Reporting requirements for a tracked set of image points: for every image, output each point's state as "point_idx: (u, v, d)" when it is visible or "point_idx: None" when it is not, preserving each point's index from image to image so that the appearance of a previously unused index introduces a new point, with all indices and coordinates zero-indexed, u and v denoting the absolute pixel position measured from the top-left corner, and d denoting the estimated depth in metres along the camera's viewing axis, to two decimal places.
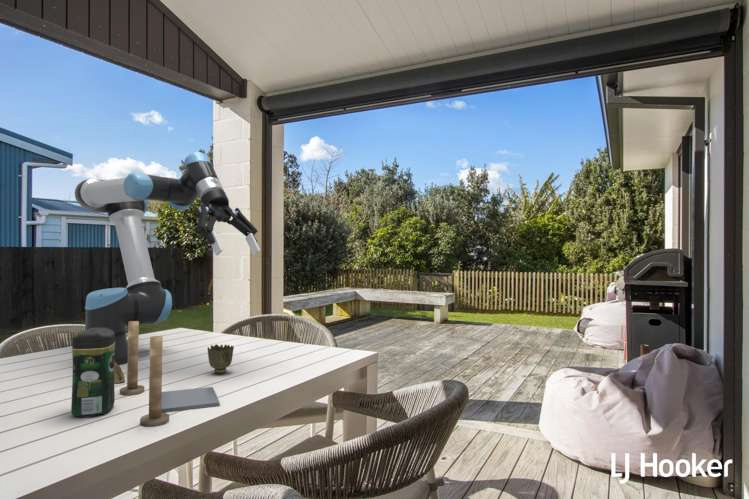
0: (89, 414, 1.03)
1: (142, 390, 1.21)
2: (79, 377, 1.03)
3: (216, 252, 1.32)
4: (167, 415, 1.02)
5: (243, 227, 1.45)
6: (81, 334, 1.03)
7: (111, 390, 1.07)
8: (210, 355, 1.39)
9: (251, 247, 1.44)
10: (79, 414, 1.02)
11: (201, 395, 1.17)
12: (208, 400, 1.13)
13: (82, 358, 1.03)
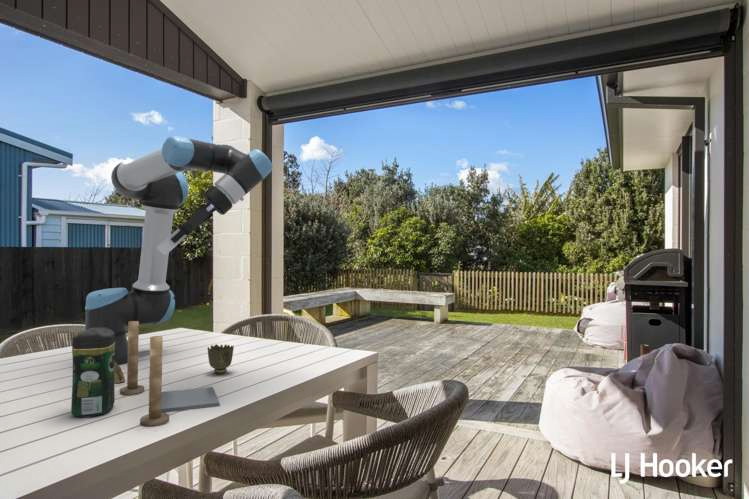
0: (89, 414, 1.03)
1: (142, 390, 1.21)
2: (79, 377, 1.03)
3: (160, 247, 1.13)
4: (167, 415, 1.02)
5: None
6: (81, 334, 1.03)
7: (111, 390, 1.07)
8: (210, 355, 1.39)
9: None
10: (79, 414, 1.02)
11: (201, 395, 1.17)
12: (208, 400, 1.13)
13: (82, 358, 1.03)
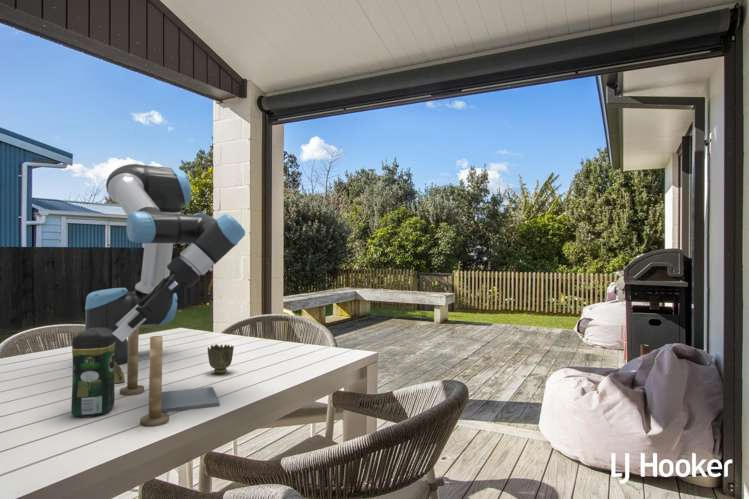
0: (89, 414, 1.03)
1: (142, 390, 1.21)
2: (79, 377, 1.03)
3: (116, 334, 1.02)
4: (167, 415, 1.02)
5: None
6: (81, 334, 1.03)
7: (111, 390, 1.07)
8: (210, 355, 1.39)
9: (126, 318, 1.15)
10: (79, 414, 1.02)
11: (201, 395, 1.17)
12: (208, 400, 1.13)
13: (82, 358, 1.03)
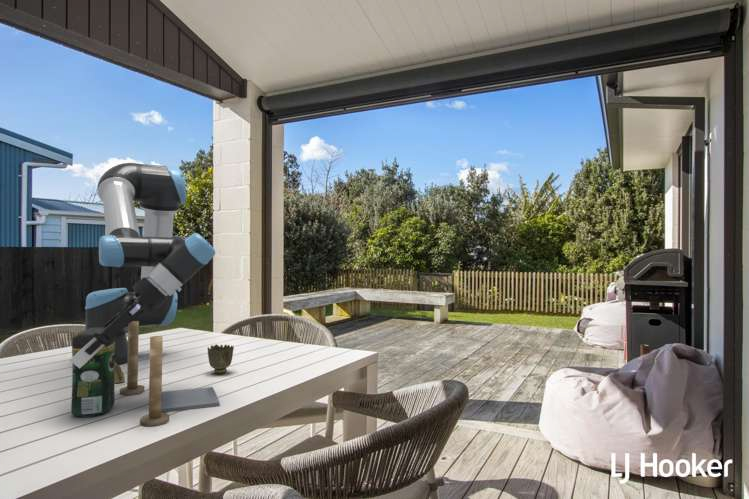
0: (89, 414, 1.03)
1: (142, 390, 1.21)
2: (79, 377, 1.03)
3: (73, 360, 1.01)
4: (167, 415, 1.02)
5: None
6: (81, 334, 1.03)
7: (111, 390, 1.07)
8: (210, 355, 1.39)
9: None
10: (79, 414, 1.02)
11: (201, 395, 1.17)
12: (208, 400, 1.13)
13: None
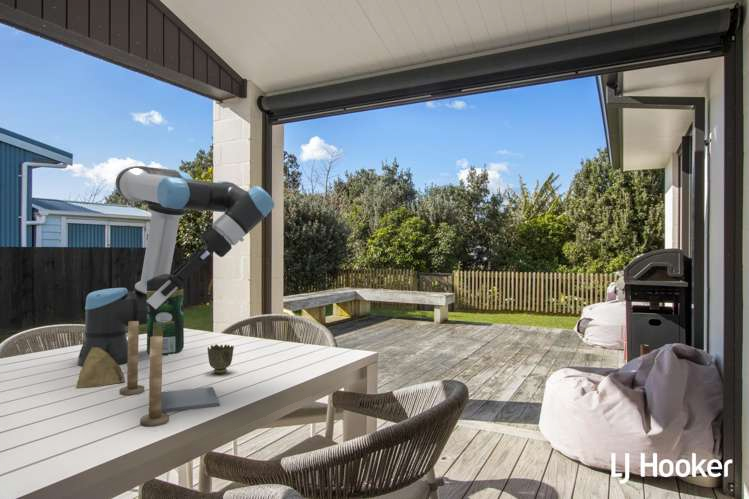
0: (164, 353, 1.08)
1: (142, 390, 1.21)
2: (154, 318, 1.08)
3: (150, 301, 1.06)
4: (167, 415, 1.02)
5: None
6: (155, 277, 1.08)
7: (182, 332, 1.13)
8: (210, 355, 1.39)
9: None
10: None
11: (201, 395, 1.17)
12: (208, 400, 1.13)
13: None
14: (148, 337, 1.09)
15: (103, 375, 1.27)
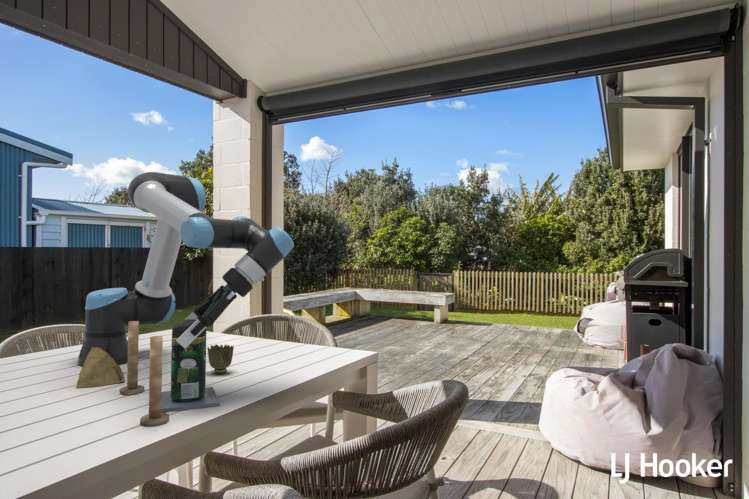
0: (188, 398, 1.11)
1: (142, 390, 1.21)
2: (179, 364, 1.12)
3: (180, 341, 1.08)
4: (167, 415, 1.02)
5: (206, 311, 1.23)
6: (181, 324, 1.12)
7: (204, 377, 1.16)
8: (210, 355, 1.39)
9: None
10: (179, 398, 1.11)
11: None
12: (208, 400, 1.13)
13: (181, 347, 1.12)
14: (172, 383, 1.12)
15: (103, 375, 1.27)
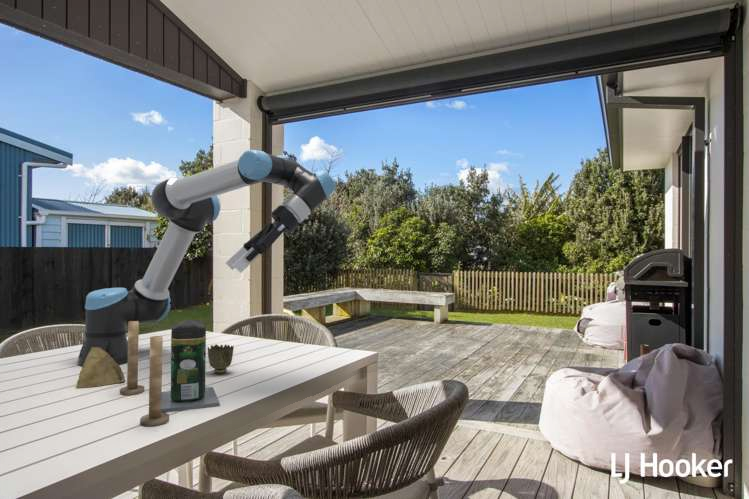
0: (188, 399, 1.11)
1: (142, 390, 1.21)
2: (179, 365, 1.12)
3: (236, 266, 1.19)
4: (167, 415, 1.02)
5: None
6: (180, 325, 1.12)
7: (204, 377, 1.16)
8: (210, 355, 1.39)
9: (234, 258, 1.32)
10: (179, 399, 1.11)
11: None
12: (208, 400, 1.13)
13: (181, 348, 1.11)
14: (172, 383, 1.12)
15: (103, 375, 1.27)
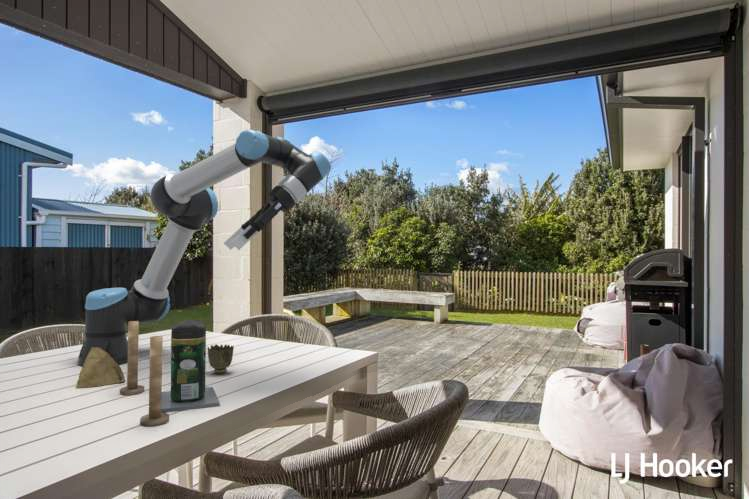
0: (188, 399, 1.11)
1: (142, 390, 1.21)
2: (179, 365, 1.12)
3: (234, 243, 1.21)
4: (167, 415, 1.02)
5: None
6: (180, 325, 1.12)
7: (204, 377, 1.16)
8: (210, 355, 1.39)
9: (232, 238, 1.34)
10: (179, 399, 1.11)
11: None
12: (208, 400, 1.13)
13: (181, 348, 1.11)
14: (172, 383, 1.12)
15: (103, 375, 1.27)
